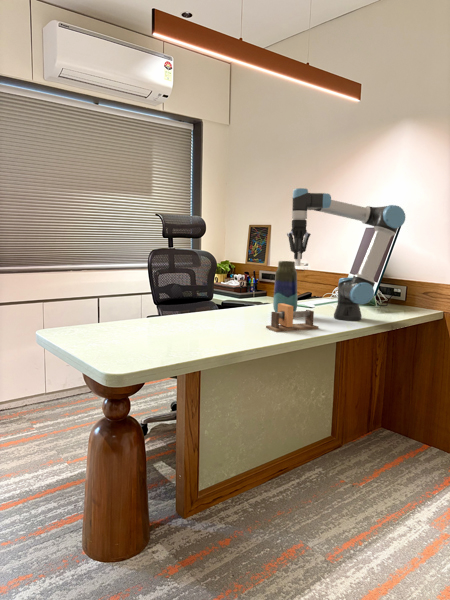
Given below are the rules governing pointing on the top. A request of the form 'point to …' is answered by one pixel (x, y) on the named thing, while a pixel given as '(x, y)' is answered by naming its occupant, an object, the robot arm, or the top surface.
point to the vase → (285, 285)
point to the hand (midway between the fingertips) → (297, 265)
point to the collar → (286, 315)
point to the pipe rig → (302, 326)
